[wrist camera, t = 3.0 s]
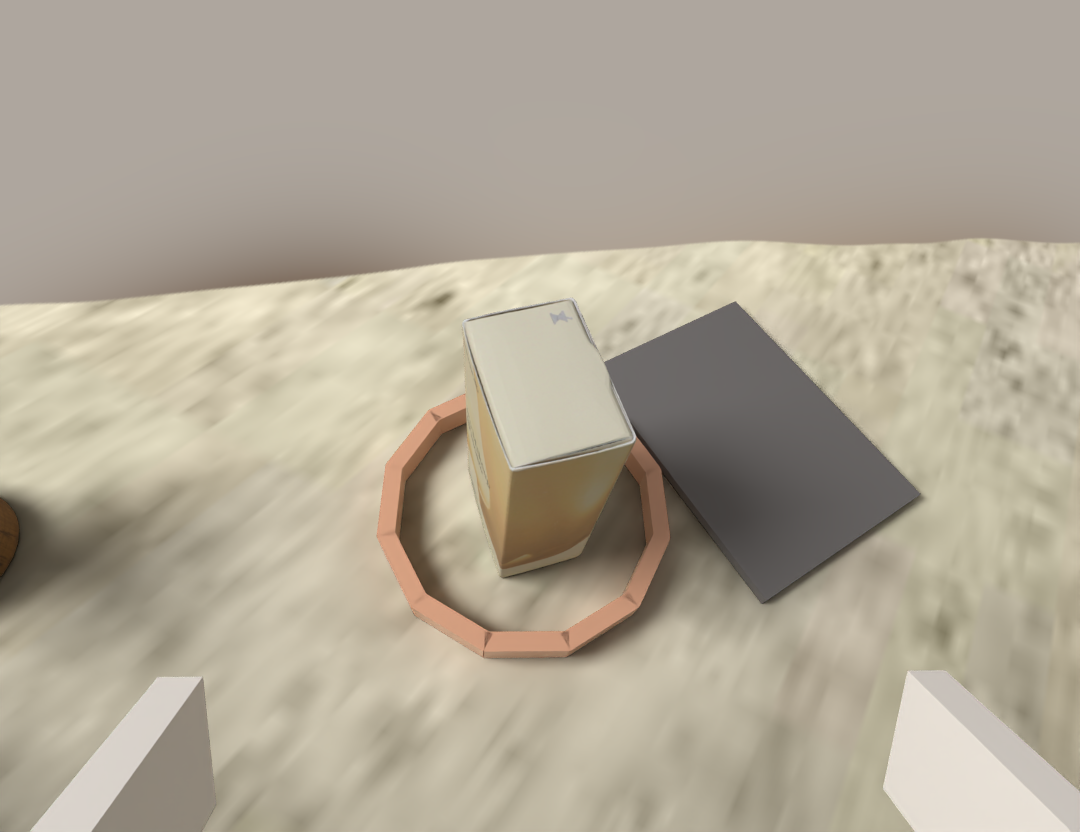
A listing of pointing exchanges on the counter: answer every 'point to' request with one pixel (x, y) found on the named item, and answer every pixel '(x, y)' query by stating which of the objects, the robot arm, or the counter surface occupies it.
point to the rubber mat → (754, 447)
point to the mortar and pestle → (7, 535)
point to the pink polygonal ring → (527, 641)
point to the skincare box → (540, 432)
